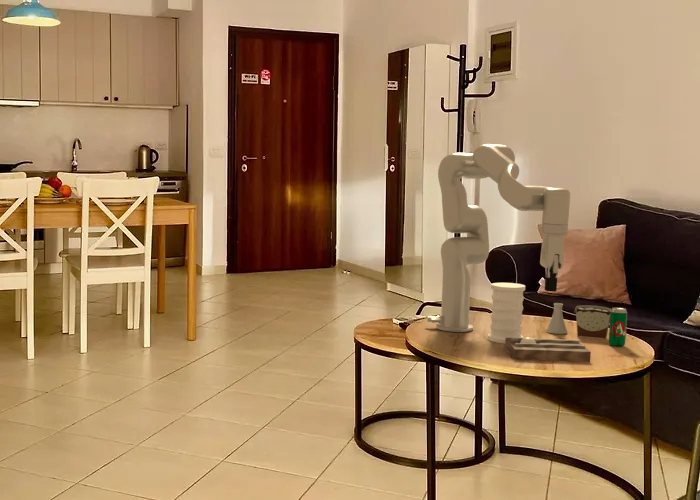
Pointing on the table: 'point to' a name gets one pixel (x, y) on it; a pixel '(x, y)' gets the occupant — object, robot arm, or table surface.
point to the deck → (548, 350)
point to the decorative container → (506, 311)
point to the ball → (528, 340)
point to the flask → (557, 321)
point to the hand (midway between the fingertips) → (550, 290)
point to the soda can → (617, 327)
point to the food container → (592, 321)
